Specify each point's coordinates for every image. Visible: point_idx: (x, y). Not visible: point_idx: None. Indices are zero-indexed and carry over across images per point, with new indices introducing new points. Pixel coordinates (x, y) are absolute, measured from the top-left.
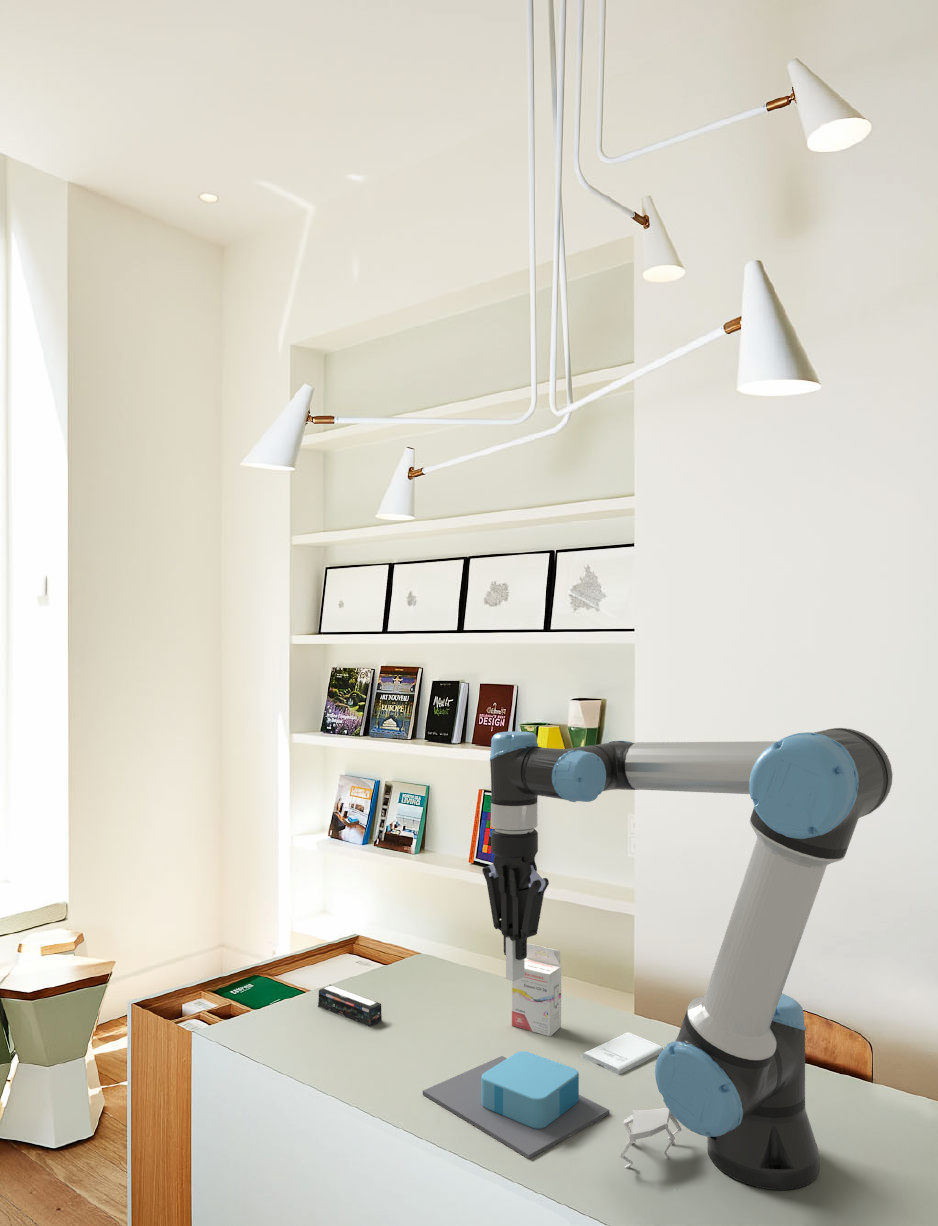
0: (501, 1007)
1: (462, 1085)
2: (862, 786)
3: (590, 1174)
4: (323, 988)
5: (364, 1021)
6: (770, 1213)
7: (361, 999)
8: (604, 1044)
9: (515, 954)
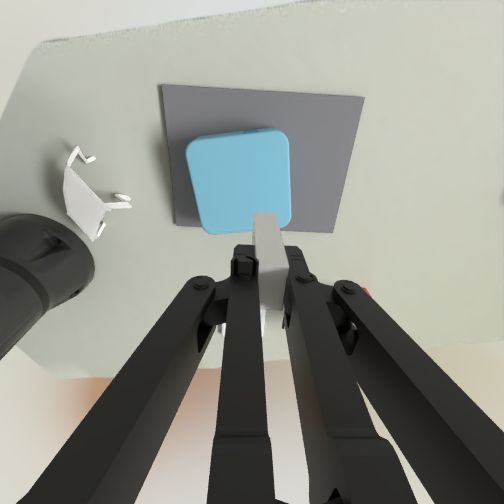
0: (397, 308)
1: (329, 148)
2: None
3: (101, 116)
4: None
5: None
6: None
7: None
8: (262, 310)
9: (254, 250)
